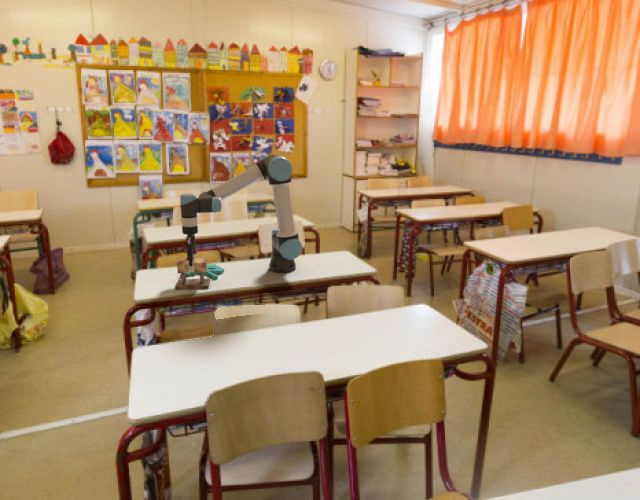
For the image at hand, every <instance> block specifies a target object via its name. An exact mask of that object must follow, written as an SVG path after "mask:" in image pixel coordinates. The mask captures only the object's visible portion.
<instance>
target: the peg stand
mask: <svg viewBox="0 0 640 500" xmlns="http://www.w3.org/2000/svg"><path fill="white" fill-rule="evenodd" d="M180 274H181V277H182V278H180V279H178V280H177V282H176V285H175V290H176V291H177V290H178V291H179V290H204V289H205V290H208V289H210V284H211V278H210V277H209V278H205V275H204V272H200V274H199V278H188V279H187V277H186V273H180Z"/></svg>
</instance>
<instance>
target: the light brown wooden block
mask: <svg viewBox="0 0 640 500" xmlns="http://www.w3.org/2000/svg"><path fill="white" fill-rule="evenodd" d="M186 259H187V258H178V259H177V263H176V267H177V268H176V269H177V274H181V273H198V272H207V264H208V259H207V257H196V258H193V259H194V272H189V269H188V260H186Z"/></svg>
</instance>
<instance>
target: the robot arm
mask: <svg viewBox="0 0 640 500" xmlns="http://www.w3.org/2000/svg"><path fill="white" fill-rule="evenodd" d="M292 173H293V166H292V163H291V161H290V160H289V159H287V157H285V156H282V155H278V154H269V155H268V156H265V157H264V158H262V159H260V160H258V161H257V162H255V163H254V164H253V166H251V167H250V168H248V169H246V170H244V171H243V172H241V173H239V174H237V175H235V176H233V177H232V178H230V179H227V180H226V181H224V182H222V183H221V184H219V185H217V186H214V187H213V188H212V189H211V188H210V189H209V190H207V191H203V192H201V193H200V194H199V195H198V197H197V196H196V194H195V193H183V194H180V197H179V198H180V199H179V202H180V204H179V205H180V216H181V217H180V219H179V221H181V232H182V234H183V235H186V237H185V241H186V257H187V258H185V259H186V260H188V269H189V272H194V259H193V258H197V254H198V251H197V250H196V236H195V235H196V234H198V233H199V226H198V214H203V213H204V214H206V213H210V214H211V213H220V212H222V201H223V200H225V199H227V198H229V197H231V196H232V195H234V194H236V193H238V192H240V191H242V190H244V189H245V188H247V187H249V186H251V185H253V184H254V183H256V182H258V181H260V180H262V181H265V180H268V184H269V185H270V187H272V193H273V201H274V207H275V214H276V220H277V221H276V222H277V228H274V229H273V230H272V231H271V258H270V260H269V263H268V269H269V271H271V272H275V273H289V272H293V271H295V270H296V269H297V264H296V261H295V259H297V258H299V256H301V254H302V252H303V245H302V243H301V241H300V237H299V231H298V230H296V227H295V221H294V219H295V218H294V212H293V205H292V196H291V190H290V184H291V183H292Z"/></svg>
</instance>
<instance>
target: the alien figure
mask: <svg viewBox="0 0 640 500" xmlns="http://www.w3.org/2000/svg"><path fill="white" fill-rule="evenodd" d="M224 272H225V268H222V267H221V266H219V265H217V264H214V263H213V264H212V263H207V272H204V276H207V277H209V278H210V279H212V280H218V279H219V275H223V274H224ZM197 275H200V272H198V273H186V278H190V277H191V276H193V277H194V276H195V277H196V276H197ZM179 278H180V279H182V277H181V273H179Z"/></svg>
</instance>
